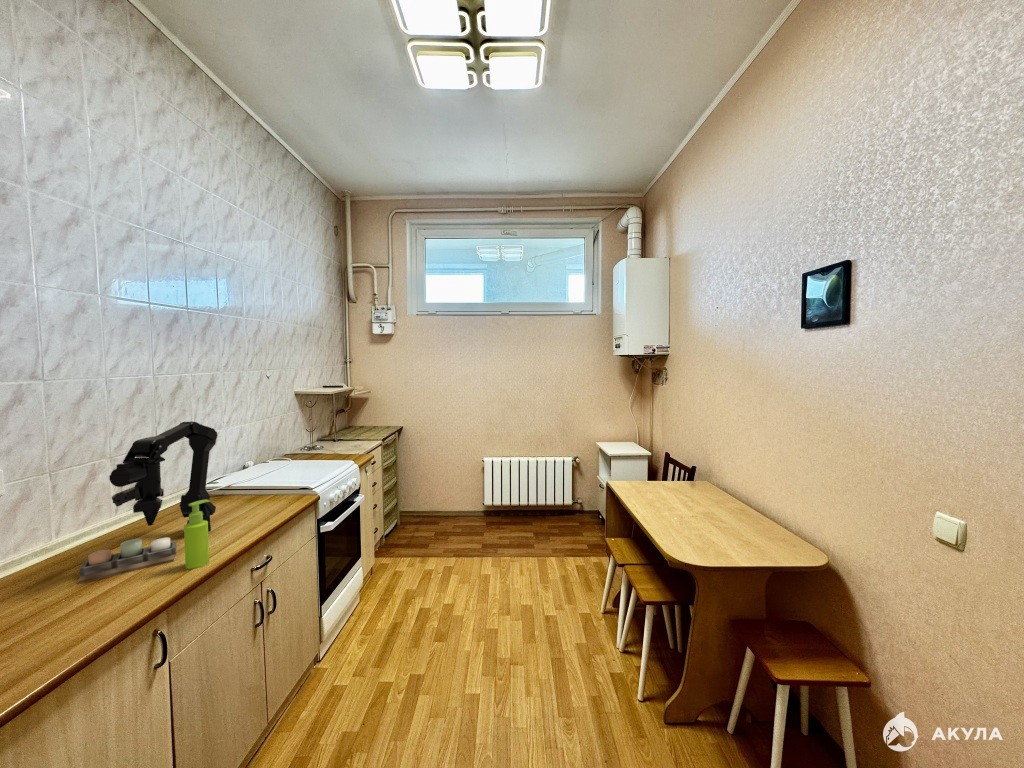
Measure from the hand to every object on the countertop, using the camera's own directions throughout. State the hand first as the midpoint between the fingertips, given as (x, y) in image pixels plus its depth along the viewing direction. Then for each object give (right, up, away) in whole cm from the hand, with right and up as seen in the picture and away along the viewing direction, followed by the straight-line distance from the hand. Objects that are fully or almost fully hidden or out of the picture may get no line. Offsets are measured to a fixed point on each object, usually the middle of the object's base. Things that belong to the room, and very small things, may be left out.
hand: (150, 525), depth 127 cm
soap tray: (-4, -11, -2) cm, 12 cm away
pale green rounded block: (-4, -8, -2) cm, 10 cm away
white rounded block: (+2, -10, +2) cm, 10 cm away
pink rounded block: (-9, -10, -7) cm, 15 cm away
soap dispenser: (+18, -12, -3) cm, 22 cm away
